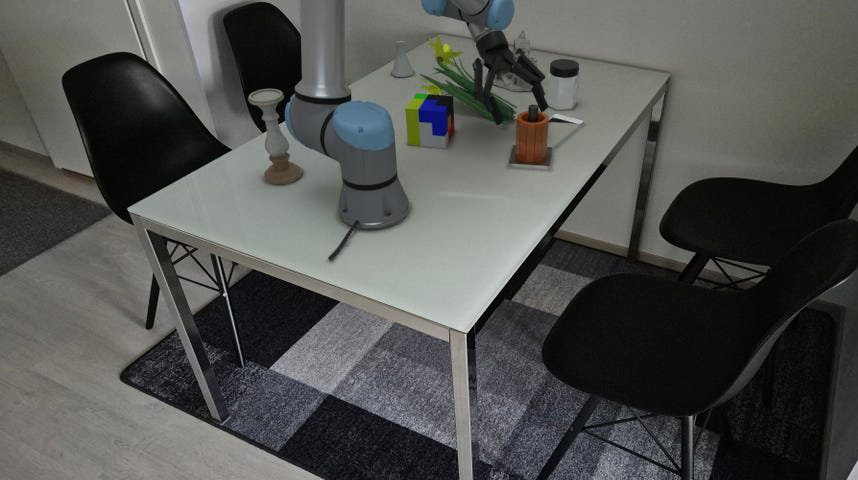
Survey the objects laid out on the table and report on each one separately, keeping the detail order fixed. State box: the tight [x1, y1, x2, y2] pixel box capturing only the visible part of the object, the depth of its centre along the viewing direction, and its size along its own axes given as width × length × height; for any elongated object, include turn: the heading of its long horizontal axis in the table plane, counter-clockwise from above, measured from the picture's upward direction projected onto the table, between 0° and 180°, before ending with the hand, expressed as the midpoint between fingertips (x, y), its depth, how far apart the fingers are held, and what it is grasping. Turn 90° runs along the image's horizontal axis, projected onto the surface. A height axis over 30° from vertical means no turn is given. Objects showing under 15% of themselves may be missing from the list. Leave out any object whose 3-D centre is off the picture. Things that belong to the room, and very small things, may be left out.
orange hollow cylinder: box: [515, 110, 550, 162], centre depth 153 cm, size 8×8×10 cm
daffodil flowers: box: [416, 34, 518, 126], centre depth 176 cm, size 17×15×35 cm
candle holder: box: [247, 88, 303, 186], centre depth 145 cm, size 9×9×20 cm
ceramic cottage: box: [493, 29, 538, 93], centre depth 193 cm, size 16×16×15 cm
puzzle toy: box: [405, 92, 455, 149], centre depth 163 cm, size 10×10×10 cm
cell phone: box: [549, 113, 585, 125], centre depth 169 cm, size 9×18×1 cm, turn 146°
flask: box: [391, 40, 414, 78], centre depth 200 cm, size 7×7×10 cm
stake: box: [508, 103, 553, 167], centre depth 153 cm, size 10×10×14 cm
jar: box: [546, 58, 580, 111], centre depth 180 cm, size 9×8×12 cm
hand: (523, 116), depth 154 cm, fingers open, 13 cm apart
